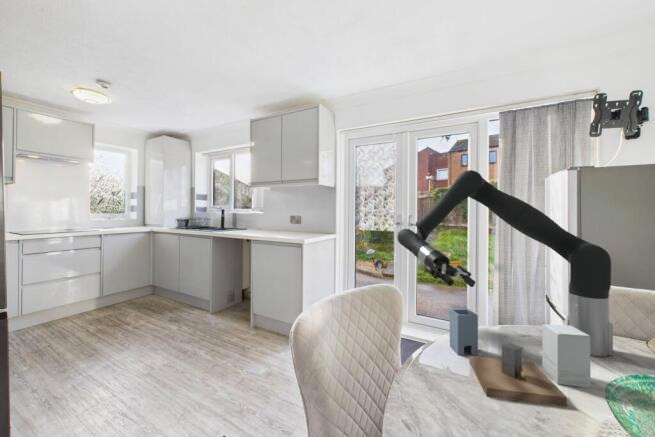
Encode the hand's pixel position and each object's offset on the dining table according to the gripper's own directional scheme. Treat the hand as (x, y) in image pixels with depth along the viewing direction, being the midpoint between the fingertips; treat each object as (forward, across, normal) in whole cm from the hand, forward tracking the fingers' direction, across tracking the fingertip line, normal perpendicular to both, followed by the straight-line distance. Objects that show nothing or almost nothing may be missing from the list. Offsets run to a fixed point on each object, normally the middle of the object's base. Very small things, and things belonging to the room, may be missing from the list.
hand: (463, 284), depth 92 cm
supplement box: (+27, +14, +10) cm, 32 cm away
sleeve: (+8, +2, +19) cm, 21 cm away
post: (+24, 0, +10) cm, 26 cm away
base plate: (+25, 0, +12) cm, 28 cm away
